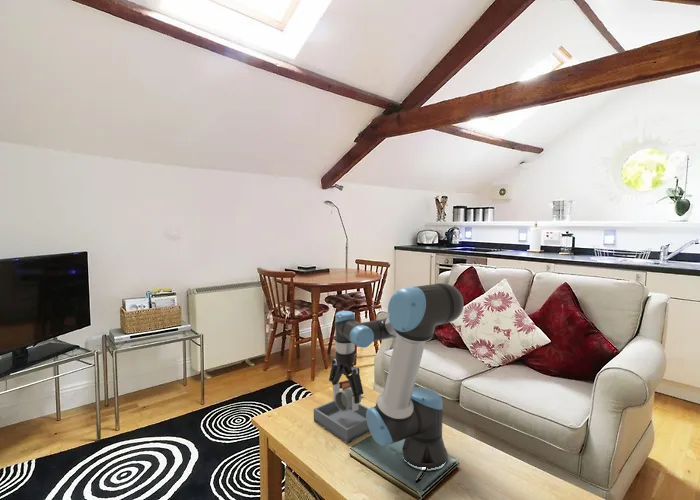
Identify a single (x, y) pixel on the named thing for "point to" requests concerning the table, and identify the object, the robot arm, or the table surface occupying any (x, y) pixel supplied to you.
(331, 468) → the table surface
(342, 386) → the brown clay vessel
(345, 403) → the ceramic mug
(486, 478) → the table surface
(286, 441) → the table surface
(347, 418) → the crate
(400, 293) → the robot arm
